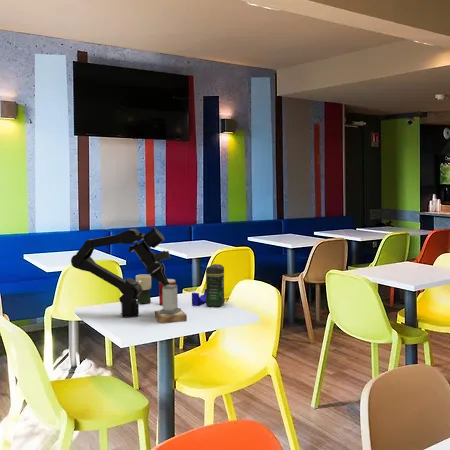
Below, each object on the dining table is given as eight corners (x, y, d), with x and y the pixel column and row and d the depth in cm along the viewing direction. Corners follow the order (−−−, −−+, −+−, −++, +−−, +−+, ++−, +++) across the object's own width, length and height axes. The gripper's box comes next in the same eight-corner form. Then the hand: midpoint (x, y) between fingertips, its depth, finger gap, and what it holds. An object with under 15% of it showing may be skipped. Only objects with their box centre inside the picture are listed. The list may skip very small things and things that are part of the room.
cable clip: (203, 300, 257) (203, 288, 257) (211, 301, 255) (211, 289, 254) (189, 305, 247) (189, 292, 247) (197, 306, 245) (197, 293, 244)
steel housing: (159, 313, 220) (159, 286, 220) (166, 309, 226) (166, 283, 226) (173, 314, 218) (173, 287, 217) (180, 311, 224) (180, 284, 223)
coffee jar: (221, 307, 242) (220, 266, 240) (204, 307, 244) (203, 266, 242) (226, 303, 251) (225, 263, 250) (209, 302, 253) (209, 262, 252)
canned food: (163, 306, 245) (162, 282, 244) (156, 303, 252) (156, 279, 251) (178, 304, 249) (178, 281, 248) (172, 301, 256) (171, 278, 255)
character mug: (141, 300, 259) (140, 273, 258) (155, 300, 258) (154, 273, 257) (132, 305, 249) (131, 277, 248) (146, 305, 247) (146, 277, 246)
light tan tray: (159, 323, 216) (159, 316, 215) (154, 317, 226) (154, 310, 226) (186, 320, 219) (186, 314, 219) (180, 314, 229) (180, 308, 229)
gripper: (159, 241, 217) (181, 273, 216) (163, 244, 236) (184, 273, 235) (136, 258, 216) (159, 289, 215) (142, 260, 235) (163, 289, 234)
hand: (167, 284), depth 225 cm, fingers open, 9 cm apart
